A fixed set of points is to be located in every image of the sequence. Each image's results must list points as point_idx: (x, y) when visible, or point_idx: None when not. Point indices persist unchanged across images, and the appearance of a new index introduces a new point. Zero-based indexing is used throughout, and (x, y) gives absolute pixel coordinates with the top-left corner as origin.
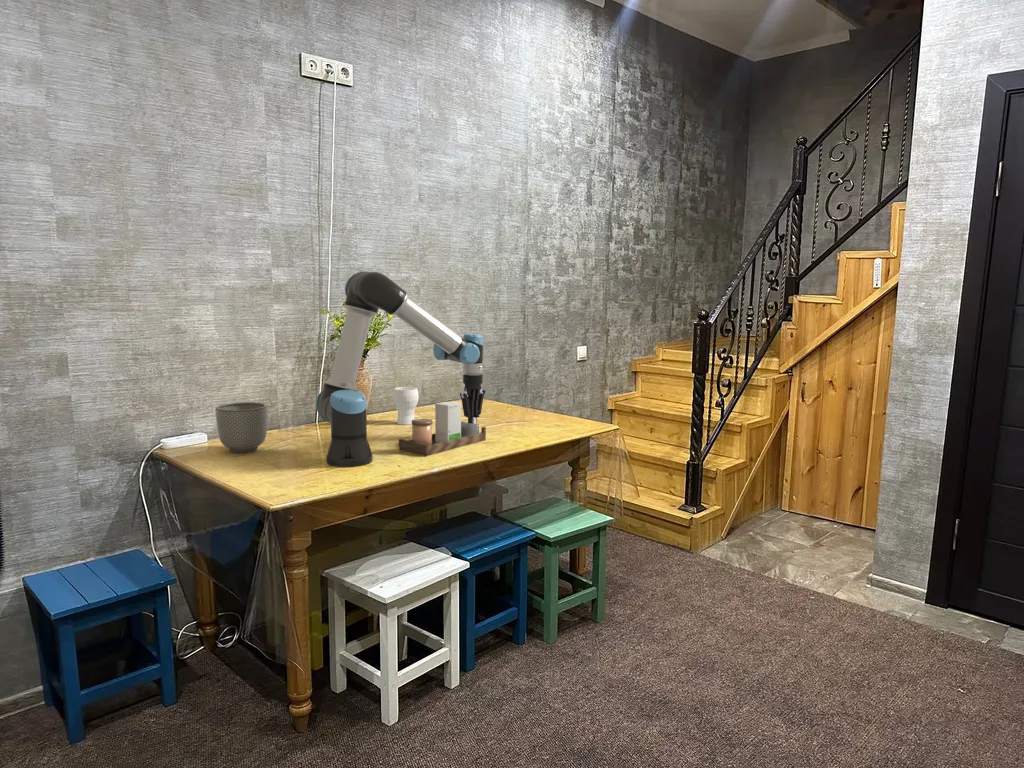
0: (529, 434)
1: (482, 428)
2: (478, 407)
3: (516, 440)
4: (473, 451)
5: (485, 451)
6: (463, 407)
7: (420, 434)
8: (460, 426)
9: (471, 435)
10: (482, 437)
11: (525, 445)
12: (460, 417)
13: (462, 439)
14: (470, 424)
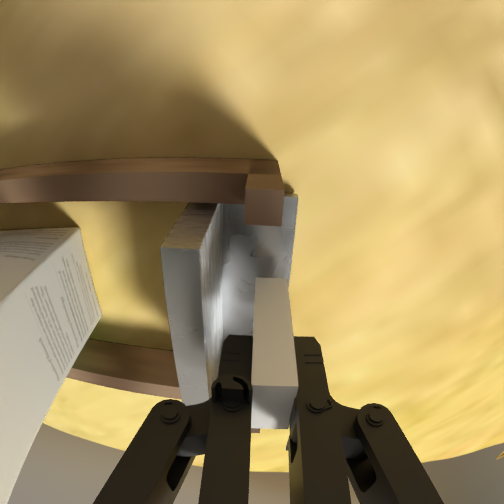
0: (453, 408)
1: None
2: (367, 498)
3: None
4: (74, 401)
5: (109, 426)
6: (103, 496)
7: None
8: (55, 387)
9: (133, 385)
10: None
11: (277, 469)
12: (29, 437)
13: None
14: (183, 393)
